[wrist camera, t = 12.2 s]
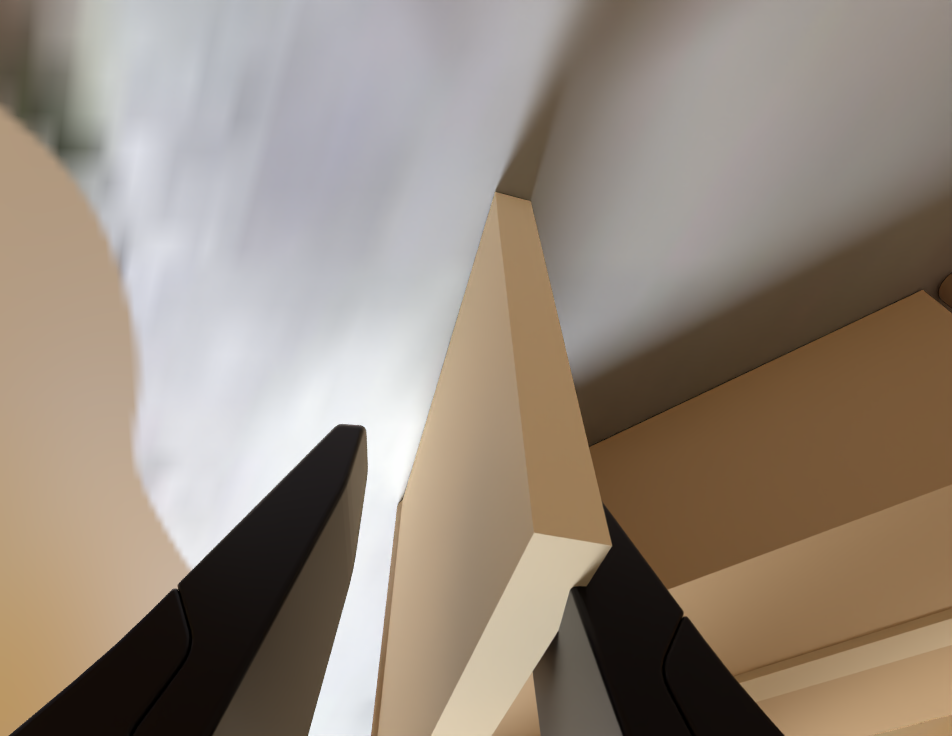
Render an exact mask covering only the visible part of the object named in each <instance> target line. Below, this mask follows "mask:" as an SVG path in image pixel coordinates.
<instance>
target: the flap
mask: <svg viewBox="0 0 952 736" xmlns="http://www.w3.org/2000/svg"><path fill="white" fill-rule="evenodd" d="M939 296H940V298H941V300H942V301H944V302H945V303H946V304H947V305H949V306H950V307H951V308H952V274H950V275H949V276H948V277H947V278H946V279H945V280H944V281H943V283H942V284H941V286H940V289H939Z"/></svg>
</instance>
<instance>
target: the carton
mask: <svg viewBox="0 0 952 736" xmlns="http://www.w3.org/2000/svg"><path fill="white" fill-rule="evenodd" d="M589 450H590V454H591V458H592V463H593V467H594V471H595V475H596V479H597V484H598V488H599V492H600V496H601V500H602V502H603V503H604V504H605V506H606V507H607V508H608V510H609V511H610V513H611V514H612V515H613V517H614V518H615V519H616V521H617V522H618V523H619V525H620V526H621V527H622V529H623V530H624V531H625V533H626V534H627V536H628V537H629V538H630V540H631V541H632V542H633V544H634V545H635V546H636V548H637V549H638V550H639V552H640V553H641V554H642V556H643V557H644V558H645V560H646V561H647V563H648V564H649V565H650V567H651V568H652V569H653V571H654V572H655V573H656V575H657V576H658V577H659V579H660V580H661V581H662V583H663V584H664V585H665V587H666V588H667V590H668V591H669V592H670V594H671V595H672V596H673V598H674V599H675V600H676V602H677V603H678V604H679V606H680V607H681V608H682V610H683V611H684V615H683V617H684V616H687V617H688V618H689V619H690V620H691V622H692V623H693V624H694V626H695V627H696V628H697V630H698V631H699V632H700V634H701V635H702V637H703V638H704V639H705V641H706V642H707V643H708V644H709V646H710V647H711V648H712V650H713V651H714V652H715V653H716V655H717V656H718V657H719V659H720V660H721V661H722V662H723V664H724V665H725V666H726V667H727V669H728V670H729V671H730V673H731V674H732V675H733V676H734V678H735V679H736V680H737V681H738V682H739V683H740V685H741V686H742V687H743V688H744V689H745V690H746V692H747V693H748V694H749V695H750V696H751V697H752V699H753V700H754V701H755V702H756V703H757V704H758V706H759V707H760V708H761V709H762V710H763V711H764V713H765V714H766V715H767V716H768V717H769V718H770V719H771V721H772V722H773V723H774V724H775V725H776V726H777V727H778V728H779V730H780V731H781V732H782V733H783V734H784V735H785V736H872V735H876V734H880V733H884V732H888V731H892V730H896V729H899V728H903V727H907V726H911V725H915V724H919V723H923V722H926V721H930V720H934V719H938V718H942V717H946V716H950V715H952V313H951V312H950V311H948V310H947V309H946V308H945V307H943V306H942V305H941V304H940V303H938V302H937V301H936V300H935V299H934V298H932V297H931V296H930V295H929V294H927V293H926V292H925V291H924V290H921V291H919V292H917V293H915V294H913V295H911V296H909V297H906V298H904V299H902V300H900V301H898V302H896V303H894V304H892V305H889V306H887V307H885V308H883V309H881V310H879V311H877V312H875V313H873V314H870V315H868V316H866V317H864V318H862V319H860V320H858V321H856V322H853V323H851V324H849V325H847V326H845V327H843V328H841V329H839V330H836V331H834V332H832V333H830V334H828V335H826V336H824V337H822V338H820V339H817V340H815V341H813V342H811V343H809V344H807V345H805V346H803V347H800V348H798V349H796V350H794V351H792V352H790V353H788V354H786V355H784V356H781V357H779V358H777V359H775V360H773V361H771V362H769V363H767V364H764V365H762V366H760V367H758V368H756V369H754V370H752V371H750V372H748V373H745V374H743V375H741V376H739V377H737V378H735V379H733V380H731V381H728V382H726V383H724V384H722V385H720V386H718V387H716V388H714V389H711V390H709V391H707V392H705V393H703V394H701V395H699V396H697V397H695V398H692V399H690V400H688V401H686V402H684V403H682V404H680V405H678V406H675V407H673V408H671V409H669V410H667V411H665V412H663V413H661V414H659V415H656V416H654V417H652V418H650V419H648V420H646V421H644V422H642V423H639V424H637V425H635V426H633V427H631V428H629V429H627V430H625V431H622V432H620V433H618V434H616V435H614V436H612V437H610V438H608V439H606V440H603V441H601V442H599V443H597V444H595V445H593V446H591V447H589ZM492 736H541V734H540V727H539V719H538V711H537V703H536V696H535V688H534V680H533V672H532V673H531V675H530V676H529V678H528V679H527V681H526V682H525V684H524V686H523V687H522V689H521V690H520V692H519V693H518V695H517V697H516V698H515V700H514V701H513V703H512V704H511V706H510V708H509V709H508V711H507V712H506V714H505V715H504V717H503V719H502V720H501V722H500V723H499V725H498V726H497V728H496V730H495V731H494V733H493V734H492Z"/></svg>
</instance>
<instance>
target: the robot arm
mask: <svg viewBox="0 0 952 736" xmlns="http://www.w3.org/2000/svg"><path fill="white" fill-rule="evenodd" d="M367 472H368V460H367V435H366V429H365V428H364V427H363V426H361V425H348V424H339V425H337V426H336V427H334V428H333V429H332V430H331V431H330V432H329V433H328V434H327V435H326V436H325V437H324V438H323V439H322V440H321V441H320V442H319V443H318V444H317V445H316V446H315V447H314V448H313V449H312V450H311V451H310V452H309V453H308V454H307V455H306V456H305V458H304V459H303V460H302V461H301V462H300V463H299V464H298V465H297V466H296V467H295V468H294V469H293V470H292V471H291V472H290V473H289V474H288V475H287V476H286V477H285V478H284V479H283V480H282V481H281V482H280V483H279V484H278V485H277V486H276V487H275V488H274V489H273V490H272V491H271V492H270V493H269V494H268V495H267V496H266V497H265V498H264V499H263V500H262V501H261V502H260V503H259V504H258V505H257V506H256V507H255V508H254V509H253V510H252V511H251V512H250V513H249V514H248V515H247V516H246V517H245V518H244V519H243V520H242V521H241V522H240V523H239V524H238V525H237V526H236V527H235V528H234V529H233V530H232V531H231V532H230V533H229V534H228V535H227V536H226V537H225V538H224V539H223V540H222V541H221V542H220V543H219V544H218V545H217V546H216V547H215V548H214V549H213V550H212V551H211V552H210V553H209V554H208V555H207V556H206V557H205V558H204V559H203V560H202V561H201V562H200V563H199V564H198V565H197V566H196V567H195V568H194V569H193V570H192V571H191V572H190V573H189V574H188V575H187V576H186V577H185V578H184V579H183V580H182V581H181V582H180V583H179V584H178V589H172V590H171V591H170V593H168V594H167V595H166V596H165V597H164V598H163V599H162V600H161V601H160V603H158V604H157V605H156V606H155V607H154V608H153V609H152V610H151V611H150V612H149V613H148V614H147V615H146V616H145V617H144V618H143V619H142V620H141V621H140V622H139V623H138V624H137V625H136V626H135V627H134V628H132V629H131V630H130V631H129V632H128V633H127V634H126V635H125V636H124V637H123V638H122V639H121V640H120V641H119V642H118V643H117V644H116V645H115V646H113V647H112V648H111V649H110V650H109V651H108V652H107V653H106V654H105V655H103V656H102V657H101V658H100V659H99V660H97V661H96V662H95V663H94V664H93V665H92V666H91V667H89V668H88V669H87V670H86V671H85V672H84V673H83V674H81V675H80V676H79V677H78V678H77V679H76V680H75V681H73V682H72V683H71V684H70V685H69V686H68V687H66V688H65V689H64V690H63V691H61V692H60V693H59V694H58V695H57V696H56V697H54V698H53V699H52V700H51V701H49V703H47V704H46V705H45V706H44V707H42V708H41V709H40V710H39V711H38V712H37V713H35V714H34V715H33V716H32V717H31V718H29V719H28V720H27V721H26V722H25V723H23V724H22V725H21V726H20V727H19V728H17V729H16V730H15V731H14V732H13V733H11V734H10V735H9V736H308V733H309V730H310V726H311V722H312V719H313V715H314V712H315V708H316V704H317V701H318V697H319V693H320V690H321V686H322V683H323V679H324V675H325V672H326V668H327V665H328V661H329V657H330V654H331V650H332V646H333V643H334V639H335V636H336V632H337V628H338V625H339V621H340V617H341V614H342V610H343V607H344V603H345V599H346V596H347V592H348V589H349V585H350V580H351V576H352V572H353V567H354V562H355V556H356V550H357V543H358V536H359V529H360V522H361V516H362V509H363V502H364V495H365V488H366V481H367ZM601 501H602V500H601ZM602 505H603V509H604V513H605V518H606V522H607V526H608V530H609V534H610V539H611V543H612V547H611V549H610V550H609V552H608V553H607V555H606V556H605V558H604V560H603V561H602V563H601V564H600V566H599V567H598V569H597V571H596V572H595V574H594V575H593V577H592V579H591V580H590V582H589V583H588V585H587V586H575V587H572V588H571V589H570V591H569V595H568V598H567V602H566V606H565V609H564V613H563V616H562V620H561V624H560V627H559V630H558V632H557V634H556V635H555V637H554V638H553V640H552V641H551V643H550V645H549V646H548V648H547V649H546V651H545V653H544V654H543V656H542V657H541V659H540V660H539V662H538V664H537V665H536V667H535V668H534V670H533V671H532V672H533V680H534V688H535V696H536V703H537V711H538V719H539V727H540V734H541V736H785V735H784V734H783V733H782V732H781V731H780V730H779V728H778V727H777V726H776V725H775V724H774V723H773V722H772V721H771V719H770V718H769V717H768V716H767V715H766V714H765V713H764V711H763V710H762V709H761V708H760V707H759V706H758V704H757V703H756V702H755V701H754V700H753V699H752V697H751V696H750V695H749V694H748V693H747V692H746V690H745V689H744V688H743V687H742V686H741V685H740V683H739V682H738V681H737V680H736V679H735V678H734V676H733V675H732V674H731V673H730V671H729V670H728V669H727V667H726V666H725V665H724V664H723V662H722V661H721V660H720V659H719V657H718V656H717V655H716V653H715V652H714V651H713V650H712V648H711V647H710V646H709V644H708V643H707V642H706V641H705V639H704V638H703V637H702V635H701V634H700V632H699V631H698V630H697V628H696V627H695V626H694V624H693V623H692V622H691V620H690V619H689V618H688V617H687V616H684V617H683V615H684V611H683V610H682V608H681V607H680V606H679V604H678V603H677V602H676V600H675V599H674V598H673V596H672V595H671V594H670V592H669V591H668V590H667V588H666V587H665V585H664V584H663V583H662V581H661V580H660V579H659V577H658V576H657V575H656V573H655V572H654V571H653V569H652V568H651V567H650V565H649V564H648V563H647V561H646V560H645V558H644V557H643V556H642V554H641V553H640V552H639V550H638V549H637V548H636V546H635V545H634V544H633V542H632V541H631V540H630V538H629V537H628V536H627V534H626V533H625V531H624V530H623V529H622V527H621V526H620V525H619V523H618V522H617V521H616V519H615V518H614V517H613V515H612V514H611V513H610V511H609V510H608V508H607V507H606V506H605V504H604V503H603V502H602ZM178 590H179V591H178Z"/></svg>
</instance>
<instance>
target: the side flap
mask: <svg viewBox="0 0 952 736" xmlns="http://www.w3.org/2000/svg"><path fill="white" fill-rule="evenodd" d="M611 547H612V543H611V539H610V534H609V530H608V526H607V522H606V518H605V513H604V509H603V505H602V501H601V496H600V492H599V488H598V484H597V479H596V475H595V471H594V467H593V463H592V458H591V454H590V450H589V446H588V441H587V437H586V433H585V429H584V424H583V420H582V416H581V412H580V408H579V403H578V399H577V395H576V391H575V386H574V382H573V378H572V374H571V369H570V365H569V361H568V357H567V353H566V348H565V344H564V340H563V336H562V331H561V327H560V323H559V319H558V314H557V310H556V306H555V302H554V298H553V293H552V289H551V285H550V281H549V276H548V272H547V268H546V264H545V259H544V255H543V251H542V247H541V243H540V238H539V234H538V230H537V226H536V221H535V217H534V213H533V209H532V204H531V201H528V200H524V199H520V198H516V197H513V196H509V195H505V194H501V193H497V192H495V194H494V197H493V201H492V204H491V207H490V211H489V214H488V217H487V221H486V224H485V227H484V231H483V234H482V237H481V241H480V244H479V247H478V251H477V254H476V257H475V261H474V264H473V267H472V271H471V274H470V277H469V281H468V284H467V287H466V291H465V294H464V297H463V301H462V304H461V307H460V311H459V314H458V317H457V321H456V324H455V327H454V331H453V334H452V337H451V341H450V344H449V347H448V351H447V354H446V357H445V361H444V364H443V367H442V371H441V374H440V377H439V381H438V384H437V387H436V391H435V394H434V397H433V401H432V404H431V407H430V411H429V414H428V417H427V421H426V424H425V427H424V431H423V434H422V437H421V441H420V444H419V447H418V451H417V454H416V457H415V461H414V464H413V467H412V471H411V474H410V477H409V480H408V484H407V487H406V490H405V494H404V497H403V500H402V501H401V502H400V503H399V504H398V506H397V513H396V522H395V531H394V539H393V548H392V557H391V566H390V575H389V583H388V592H387V601H386V610H385V618H384V627H383V636H382V645H381V654H380V662H379V671H378V680H377V689H376V697H375V706H374V715H373V724H372V732H371V736H492V734H493V733H494V731H495V730H496V728H497V726H498V725H499V723H500V722H501V720H502V719H503V717H504V715H505V714H506V712H507V711H508V709H509V708H510V706H511V704H512V703H513V701H514V700H515V698H516V697H517V695H518V693H519V692H520V690H521V689H522V687H523V686H524V684H525V682H526V681H527V679H528V678H529V676H530V675H531V673H532V671H533V670H534V668H535V667H536V665H537V664H538V662H539V660H540V659H541V657H542V656H543V654H544V653H545V651H546V649H547V648H548V646H549V645H550V643H551V641H552V640H553V638H554V637H555V635H556V634H557V632H558V630H559V627H560V624H561V620H562V616H563V613H564V609H565V606H566V602H567V598H568V595H569V591H570V589H571V588H572V587H575V586H587V585H588V583H589V582H590V580H591V579H592V577H593V575H594V574H595V572H596V571H597V569H598V567H599V566H600V564H601V563H602V561H603V560H604V558H605V556H606V555H607V553H608V552H609V550H610V549H611Z"/></svg>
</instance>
